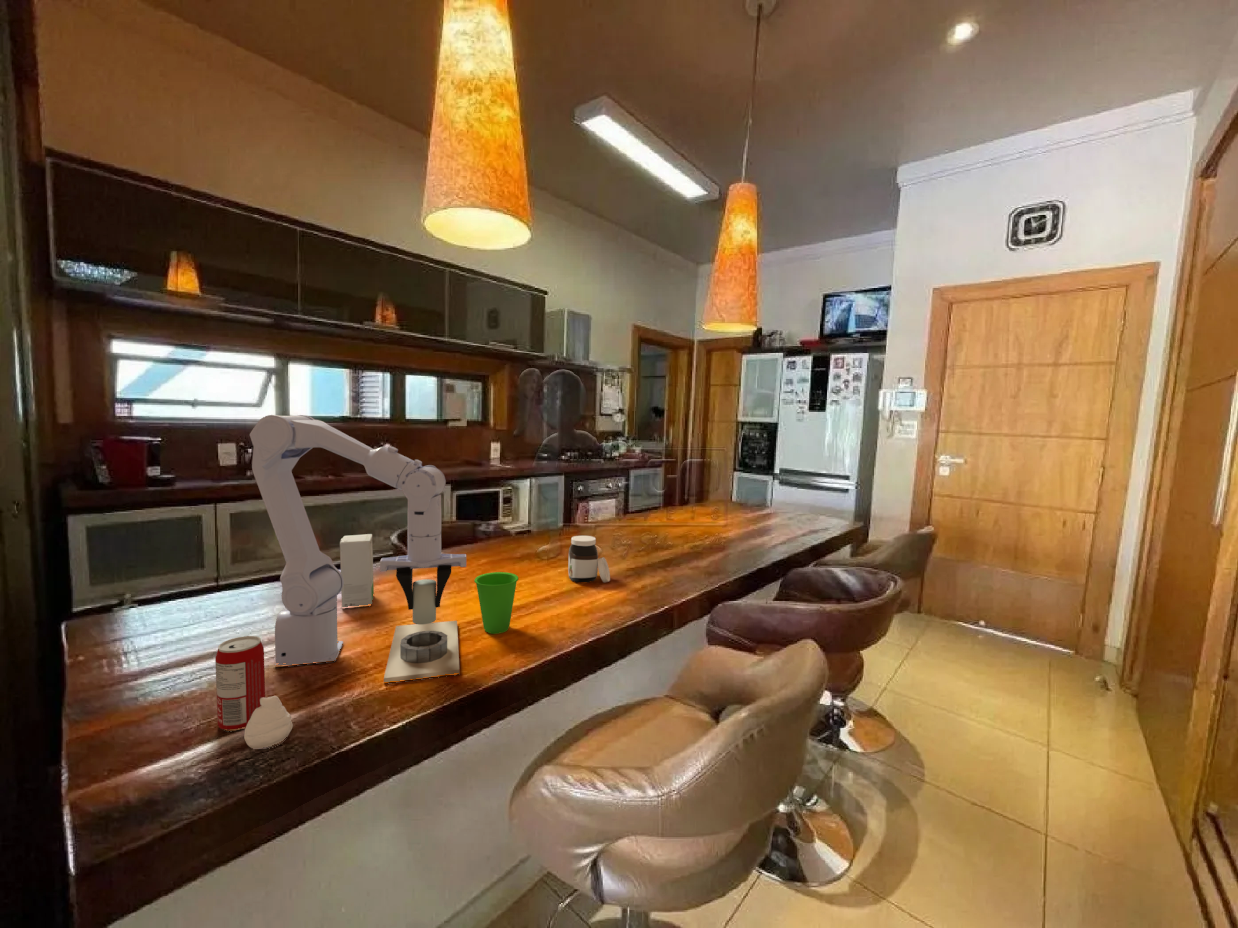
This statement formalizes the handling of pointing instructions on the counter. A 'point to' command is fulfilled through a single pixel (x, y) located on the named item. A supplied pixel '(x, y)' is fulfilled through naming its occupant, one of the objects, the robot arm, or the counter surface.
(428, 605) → the gray peg
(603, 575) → the spread jar
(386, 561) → the robot arm
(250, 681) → the soda can
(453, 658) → the peg holder
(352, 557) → the skincare box
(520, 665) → the counter surface
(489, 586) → the cup
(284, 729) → the garlic bulb
